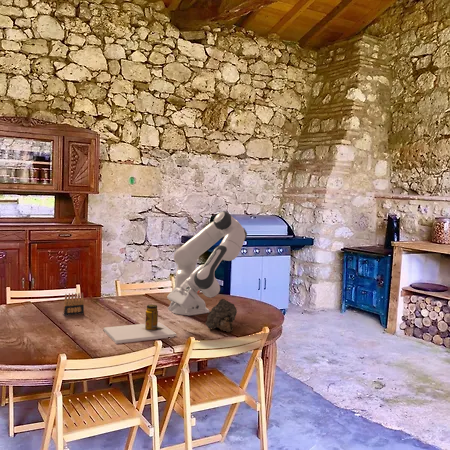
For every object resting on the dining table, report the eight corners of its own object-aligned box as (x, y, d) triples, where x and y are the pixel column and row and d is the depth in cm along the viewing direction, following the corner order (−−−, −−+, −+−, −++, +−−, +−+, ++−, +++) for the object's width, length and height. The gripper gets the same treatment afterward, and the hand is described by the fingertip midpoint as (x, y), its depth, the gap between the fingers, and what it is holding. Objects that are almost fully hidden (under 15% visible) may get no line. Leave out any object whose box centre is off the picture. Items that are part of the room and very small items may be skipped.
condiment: (141, 328, 241) (142, 305, 240) (154, 325, 248) (155, 302, 247) (150, 331, 237) (151, 307, 236) (164, 328, 243) (164, 305, 242)
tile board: (159, 324, 255) (160, 322, 255) (176, 336, 236) (176, 333, 235) (103, 330, 240) (103, 327, 240) (116, 343, 221) (116, 340, 221)
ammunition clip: (64, 315, 265) (64, 293, 264) (63, 314, 266) (63, 293, 265) (83, 313, 270) (84, 292, 269) (83, 312, 272) (83, 291, 271)
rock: (215, 293, 260) (234, 293, 249) (229, 310, 266) (249, 311, 255) (197, 320, 250) (217, 321, 239) (213, 337, 256) (232, 339, 245)
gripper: (175, 282, 258) (158, 301, 253) (192, 289, 240) (173, 310, 236) (183, 289, 260) (165, 309, 256) (199, 298, 242) (181, 318, 238)
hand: (169, 310), depth 246 cm, fingers closed
